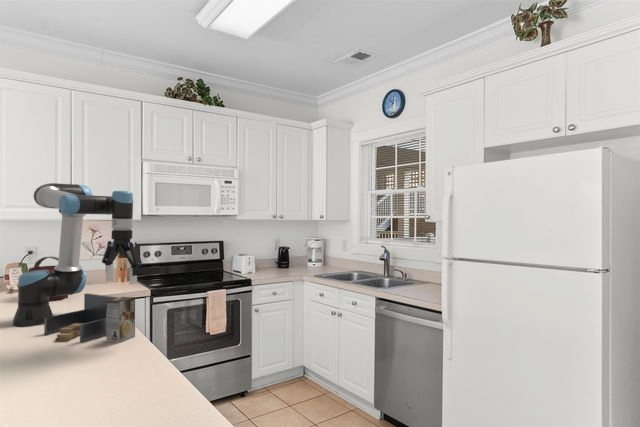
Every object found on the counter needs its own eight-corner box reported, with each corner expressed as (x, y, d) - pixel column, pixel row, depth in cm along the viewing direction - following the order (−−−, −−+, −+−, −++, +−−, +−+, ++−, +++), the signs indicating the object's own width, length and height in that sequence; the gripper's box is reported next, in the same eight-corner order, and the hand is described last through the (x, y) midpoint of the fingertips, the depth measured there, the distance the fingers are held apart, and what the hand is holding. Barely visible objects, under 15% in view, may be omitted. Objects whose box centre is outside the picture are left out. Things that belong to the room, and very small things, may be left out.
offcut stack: (73, 333, 171) (73, 322, 171) (86, 333, 171) (86, 322, 171) (54, 342, 159) (54, 330, 159) (68, 342, 159) (68, 330, 159)
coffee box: (121, 335, 168) (122, 296, 168) (135, 336, 167) (135, 297, 167) (105, 342, 159) (105, 300, 159) (119, 343, 158) (120, 301, 158)
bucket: (80, 298, 242) (80, 256, 242) (38, 305, 223) (39, 259, 223) (59, 294, 255) (59, 254, 255) (18, 300, 236) (19, 257, 236)
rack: (44, 334, 168) (44, 300, 168) (87, 324, 185) (87, 293, 185) (82, 342, 158) (82, 306, 158) (124, 330, 175) (124, 298, 175)
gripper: (92, 228, 165) (91, 281, 165) (136, 230, 154) (135, 286, 154) (109, 228, 172) (108, 278, 172) (152, 230, 161) (151, 283, 161)
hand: (121, 282), depth 163 cm, fingers open, 13 cm apart
